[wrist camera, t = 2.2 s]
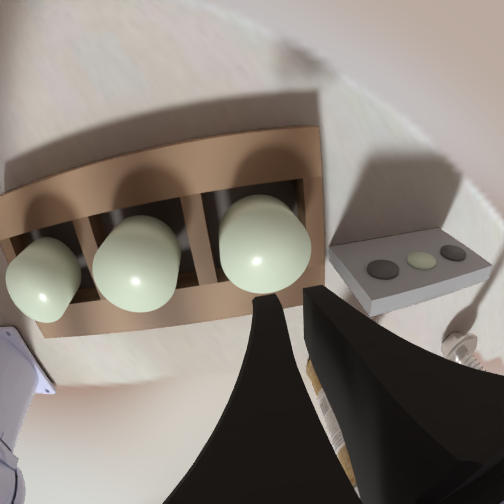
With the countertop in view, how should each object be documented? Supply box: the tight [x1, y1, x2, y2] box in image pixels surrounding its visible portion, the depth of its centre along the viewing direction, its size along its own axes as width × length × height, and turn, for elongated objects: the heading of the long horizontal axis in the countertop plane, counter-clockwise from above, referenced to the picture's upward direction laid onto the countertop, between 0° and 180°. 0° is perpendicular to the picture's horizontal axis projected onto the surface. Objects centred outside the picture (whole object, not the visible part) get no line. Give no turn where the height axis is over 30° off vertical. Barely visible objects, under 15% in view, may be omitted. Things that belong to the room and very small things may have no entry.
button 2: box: [6, 237, 81, 323], centre depth 13 cm, size 4×4×2 cm
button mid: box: [92, 215, 181, 312], centre depth 14 cm, size 4×4×2 cm
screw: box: [441, 332, 486, 371], centre depth 20 cm, size 13×5×5 cm
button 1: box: [219, 194, 311, 294], centre depth 14 cm, size 4×4×2 cm
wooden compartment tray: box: [0, 125, 325, 338], centre depth 16 cm, size 19×10×2 cm, turn 97°
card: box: [329, 228, 492, 317], centre depth 16 cm, size 9×1×6 cm, turn 97°
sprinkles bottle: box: [306, 360, 360, 498], centre depth 17 cm, size 5×5×13 cm
